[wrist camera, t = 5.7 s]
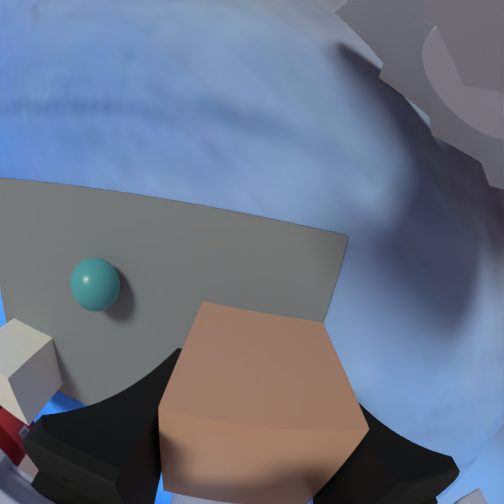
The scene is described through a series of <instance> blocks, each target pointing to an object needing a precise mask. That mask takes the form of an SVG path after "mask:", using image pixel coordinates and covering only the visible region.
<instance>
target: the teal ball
mask: <svg viewBox="0 0 504 504" xmlns="http://www.w3.org/2000/svg"><path fill="white" fill-rule="evenodd" d="M70 289H71V293H72V296H73V298H74V299H75V301H76V302H77V303H78V304H79V305H80V306H81V307H82V308H84V309H86V310H88V311H93V312H99V311H103V310H106V309H108V308H109V307H111V306H112V305H113V304H114V302H115V301H116V299H117V297H118V295H119V291H120V279H119V276H118V273H117V271H116V270H115V268H114V267H113V266H112V265H111V264H110V263H109V262H108V261H106V260H104V259H102V258H97V257H91V258H87V259H84V260H82V261H81V262H80V263H78V264H77V265H76V267H75V268H74V270H73V272H72V274H71V278H70Z"/></svg>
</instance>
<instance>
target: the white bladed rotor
mask: <svg viewBox="0 0 504 504" xmlns="http://www.w3.org/2000/svg"><path fill="white" fill-rule="evenodd" d="M347 1H348V3H347V4H345V5H344V6H342V7H341V8H340V9H338V10H337V11H336V12H335V14H337V15H338V16H339V17H340V18H341V19H342V20H343V21H344V22H345V23H346V24H347V25H348V26H350V27H351V28H352V29H353V30H354V31H355V32H356V33H357V34H358V35H359V36H360V37H361V38H362V39H363V41H364V42H365V43H366V44H367V45H368V46H369V47H370V48H371V49H372V50H373V51H374V52H375V53H376V55H377V56H378V57H379V58H380V59H381V60H382V61H383V63H384V64H383V67H382V70H381V72H380V75H379V77H378V78H379V79H381V80H382V81H384V82H385V83H387V84H388V85H390V86H391V87H392V88H394V89H395V90H397V91H398V92H399V93H401V94H402V95H403V96H405V97H406V98H407V99H409V100H410V101H411V102H412V103H414V104H415V105H416V106H417V107H419V108H420V109H421V110H422V111H423V112H425V113H426V114H427V115H428V116H429V117H430V120H431V131H432V136H434V137H436V138H438V139H440V140H442V141H444V142H446V143H448V144H450V145H452V146H454V147H455V148H457V149H459V150H461V151H462V152H464V153H466V154H468V155H469V156H471V157H473V158H474V159H476V160H478V161H479V162H481V164H482V167H483V170H484V172H485V175H486V178H487V181H488V183H489V186H493V187H496V188H500V189H503V190H504V0H347Z"/></svg>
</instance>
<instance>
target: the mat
mask: <svg viewBox="0 0 504 504" xmlns="http://www.w3.org/2000/svg"><path fill="white" fill-rule="evenodd" d="M347 240H348V236H346V235H343V234H339V233H335V232H330V231H326V230H322V229H317V228H313V227H308V226H304V225H299V224H294V223H290V222H285V221H280V220H275V219H271V218H266V217H261V216H256V215H251V214H246V213H241V212H236V211H230V210H225V209H220V208H214V207H209V206H203V205H198V204H192V203H187V202H181V201H175V200H169V199H163V198H157V197H151V196H144V195H138V194H131V193H125V192H118V191H111V190H104V189H97V188H89V187H82V186H74V185H66V184H58V183H49V182H40V181H30V180H20V179H10V178H0V287H1V294H2V301H3V306H4V312H5V317H6V322H7V323H8V322H9V321H11V320H12V319H14V318H15V319H17V320H18V321H20V322H22V323H24V324H26V325H28V326H30V327H32V328H34V329H35V330H37V331H39V332H41V333H44V334H46V335H48V336H50V337H52V338H53V343H54V348H55V353H56V358H57V362H58V366H59V371H60V375H61V378H62V382H63V384H62V386H61V387H60V388H59V389H58V390H57V391H59V392H61V393H63V394H65V395H67V396H69V397H71V398H73V399H75V400H77V401H79V402H81V403H84V404H86V405H88V406H89V405H92V404H95V403H98V402H100V401H102V400H105V399H107V398H109V397H111V396H113V395H115V394H117V393H119V392H121V391H123V390H125V389H126V388H128V387H130V386H131V385H133V384H134V383H136V382H137V381H139V380H140V379H142V378H143V377H144V376H146V375H147V374H149V373H150V372H151V371H152V370H154V369H155V368H156V367H157V366H158V365H160V364H161V363H162V362H163V361H164V360H165V359H166V358H167V357H169V356H170V355H171V354H172V353H173V352H174V351H175V350H176V349H177V348H182V349H183V346H184V344H185V342H186V339H187V337H188V335H189V332H190V330H191V328H192V325H193V323H194V321H195V318H196V316H197V314H198V312H199V309H200V307H201V305H202V302H203V301H204V302H209V303H214V304H218V305H223V306H229V307H234V308H239V309H244V310H250V311H255V312H261V313H266V314H272V315H278V316H284V317H290V318H297V319H303V320H310V321H317V322H322V323H323V322H324V319H325V316H326V313H327V310H328V307H329V304H330V300H331V297H332V294H333V291H334V287H335V284H336V281H337V277H338V274H339V270H340V267H341V263H342V259H343V256H344V252H345V248H346V244H347ZM91 257H97V258H102V259H104V260H106V261H108V262H109V263H110V264H111V265H112V266H113V267H114V268H115V270H116V271H117V273H118V276H119V279H120V291H119V295H118V297H117V299H116V301H115V302H114V304H113V305H112V306H111V307H109V308H108V309H106V310H103V311H99V312H93V311H88V310H86V309H84V308H82V307H81V306H80V305H79V304H78V303H77V302H76V301H75V299H74V298H73V296H72V293H71V289H70V278H71V274H72V272H73V270H74V268H75V267H76V265H77V264H78V263H80V262H81V261H82V260H84V259H87V258H91Z"/></svg>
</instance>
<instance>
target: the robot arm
mask: <svg viewBox="0 0 504 504" xmlns="http://www.w3.org/2000/svg"><path fill="white" fill-rule="evenodd" d="M181 351H182V348H177V349H176V350H175V351H174V352H173V353H172V354H171V355H170V356H169V357H167V358H166V359H165V360H164V361H163V362H162V363H161V364H160V365H158V366H157V367H156V368H155V369H154V370H152V371H151V372H150V373H149V374H147V375H146V376H144V377H143V378H142V379H140V380H139V381H137V382H136V383H134V384H133V385H131V386H130V387H128V388H126V389H125V390H123V391H121V392H119V393H117V394H115V395H113V396H111V397H109V398H107V399H105V400H102V401H100V402H98V403H95V404H92V405H89V406H86V407H83V408H79V409H76V410H72V411H67V412H62V413H55V414H49V415H42V416H41V417H40V418H39V419H38V420H37V421H36V422H35V424H34V425H33V426H32V428H31V429H30V430H29V432H28V433H27V434H26V436H25V437H24V439H23V440H22V445H23V448H24V450H25V451H26V453H27V455H28V456H29V457H30V459H31V460H32V462H33V463H34V464H35V466H36V467H37V468H38V470H39V471H38V473H37V475H36V476H35V478H32V477H31V476H29V475H28V474H26V473H25V472H23V471H22V470H21V469H19V468H18V467H17V466H15V465H14V464H13V463H12V461H11V460H10V458H9V457H8V456H7V455H6V454H5V453H4V452H3V451H2V450H1V449H0V504H154V502H155V498H156V493H157V488H158V484H159V480H160V476H161V472H162V468H161V455H160V439H159V413H158V407H159V404H160V402H161V399H162V397H163V395H164V392H165V390H166V387H167V385H168V382H169V380H170V377H171V375H172V373H173V370H174V368H175V365H176V363H177V361H178V358H179V356H180V354H181ZM358 403H359V402H358ZM359 406H360V408H361V410H362V413H363V415H364V417H365V420H366V422H367V425H368V427H369V430H368V432H367V433H366V435H365V436H364V437H363V439H362V440H361V442H360V443H359V444H358V446H357V447H356V448H355V450H354V451H353V452H352V453H351V455H350V456H349V457H348V458H347V460H346V461H345V462H344V463H343V465H342V466H341V467H340V468H339V469H338V471H337V472H336V473H335V474H334V475H333V476H332V478H331V479H330V480H329V481H328V482H327V483H326V484H325V485H324V486H323V487H322V489H321V490H320V491H319V492H318V493H317V494H316V495H315V496H314V497H313V504H437V503H438V502H437V499H436V496H438V495H439V494H440V493H441V492H442V491H444V490H445V489H446V488H447V487H448V486H449V485H450V484H452V483H453V482H454V481H455V479H456V478H457V477H458V475H459V472H460V471H459V469H458V467H457V465H456V463H455V462H454V460H453V458H452V457H451V456H447V455H444V454H441V453H438V452H434V451H431V450H429V449H426V448H424V447H422V446H419V445H417V444H415V443H413V442H411V441H409V440H407V439H406V438H404V437H402V436H400V435H399V434H397V433H395V432H394V431H392V430H391V429H389V428H388V427H387V426H385V425H384V424H383V423H381V422H380V421H379V420H377V419H376V418H375V417H374V416H373V415H372V414H370V413H369V412H368V411H367V410H366V409H365V408H364V407H363V406H362V405H361V404H360V403H359ZM171 504H235V503H226V502H219V501H212V500H206V499H200V498H195V497H190V496H185V495H180V494H176V493H173V495H172V499H171ZM454 504H487V502H486V500H485V498H484V496H483V494H482V493H481V491H480V489H476V490H475V491H473V492H471V493H469V494H467V495H466V496H464V497H462V498H461V499H459V500H458V501H456V502H455V503H454Z"/></svg>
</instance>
